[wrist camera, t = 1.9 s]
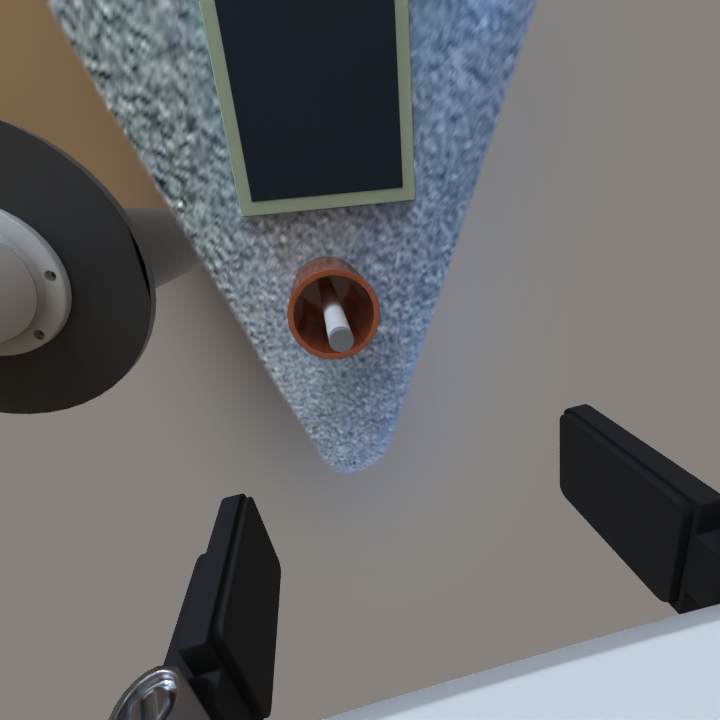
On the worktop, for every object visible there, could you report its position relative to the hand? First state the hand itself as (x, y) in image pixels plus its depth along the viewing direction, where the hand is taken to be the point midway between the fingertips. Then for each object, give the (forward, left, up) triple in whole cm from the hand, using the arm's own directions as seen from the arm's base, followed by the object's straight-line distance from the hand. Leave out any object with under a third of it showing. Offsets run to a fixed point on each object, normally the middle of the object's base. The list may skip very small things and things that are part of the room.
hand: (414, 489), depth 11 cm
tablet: (0, +17, -25) cm, 30 cm away
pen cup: (-1, +1, -25) cm, 25 cm away
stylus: (-1, +1, -24) cm, 24 cm away
